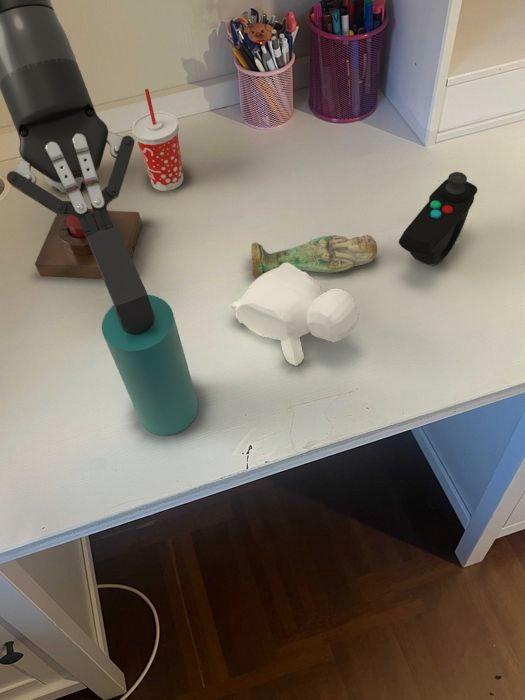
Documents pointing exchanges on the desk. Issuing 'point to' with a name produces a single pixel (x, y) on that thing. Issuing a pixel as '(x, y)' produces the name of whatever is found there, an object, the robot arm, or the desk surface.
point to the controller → (440, 220)
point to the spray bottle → (144, 341)
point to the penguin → (295, 310)
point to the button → (75, 227)
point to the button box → (81, 247)
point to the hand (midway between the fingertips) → (106, 249)
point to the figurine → (318, 255)
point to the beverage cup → (159, 147)
